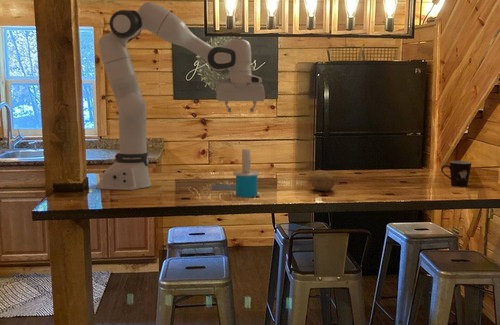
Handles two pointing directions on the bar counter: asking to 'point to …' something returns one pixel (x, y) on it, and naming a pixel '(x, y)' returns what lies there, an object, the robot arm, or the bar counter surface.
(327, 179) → the potato
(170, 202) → the bar counter surface
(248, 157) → the white post stand
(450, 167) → the coffee mug
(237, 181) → the mug
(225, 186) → the mat
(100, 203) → the bar counter surface
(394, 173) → the bar counter surface
